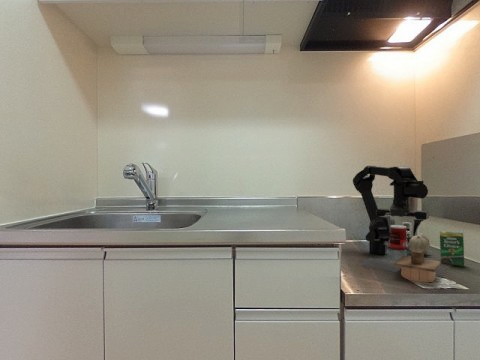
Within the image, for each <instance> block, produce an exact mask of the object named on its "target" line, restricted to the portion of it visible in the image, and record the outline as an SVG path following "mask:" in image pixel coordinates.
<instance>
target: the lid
mask: <svg viewBox="0 0 480 360" xmlns="http://www.w3.org/2000/svg"><path fill="white" fill-rule="evenodd" d="M394 262H395V263H394V265H396V266H401V267H407V268H413V269H419V270H425V271H431V272H435V273H436V271H437V270H438V268H439V266H440V265H441V264H442V263H441V260H440V261H439V260H434V259H425V254H424V250H419V249H414V250H413V251H411V252H410V256H406V255H402V256H401V257H400V258H399V259H397V260H396V261H394Z"/></svg>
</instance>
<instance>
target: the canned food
mask: <svg viewBox="0 0 480 360" xmlns="http://www.w3.org/2000/svg"><path fill="white" fill-rule="evenodd" d="M388 243H389V244H388V245H389V246H388V247H389V248H390V249H391V250H392V249H393V250H397V251H398V250H399V251H401V250H403V251H404V250H406V249H407V226H406V225H402V224H391V234H390V238H389V241H388Z"/></svg>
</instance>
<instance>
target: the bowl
mask: <svg viewBox="0 0 480 360" xmlns="http://www.w3.org/2000/svg"><path fill="white" fill-rule="evenodd" d="M400 270H401V272H400V273H401V276H402V278H404V279H406V280H409V281H414V282H419V283H431V282H435V281H436V271H435V272H431V271H425V270H419V269H413V268H407V267H401V269H400Z"/></svg>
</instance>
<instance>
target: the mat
mask: <svg viewBox="0 0 480 360" xmlns="http://www.w3.org/2000/svg"><path fill="white" fill-rule="evenodd" d="M395 262H396V261H393V260H392V261H391V260H385V259H381V258H380V259H379V258H373V257H369V258H368V259H366V260H364V261H363V262H361V263H360V264H359V266H360V267H365V268H369V269H370V268H372V269H378V270H383V271H387V272H393V273H398V272H400V270H401V266H396V265H394V263H395Z"/></svg>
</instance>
